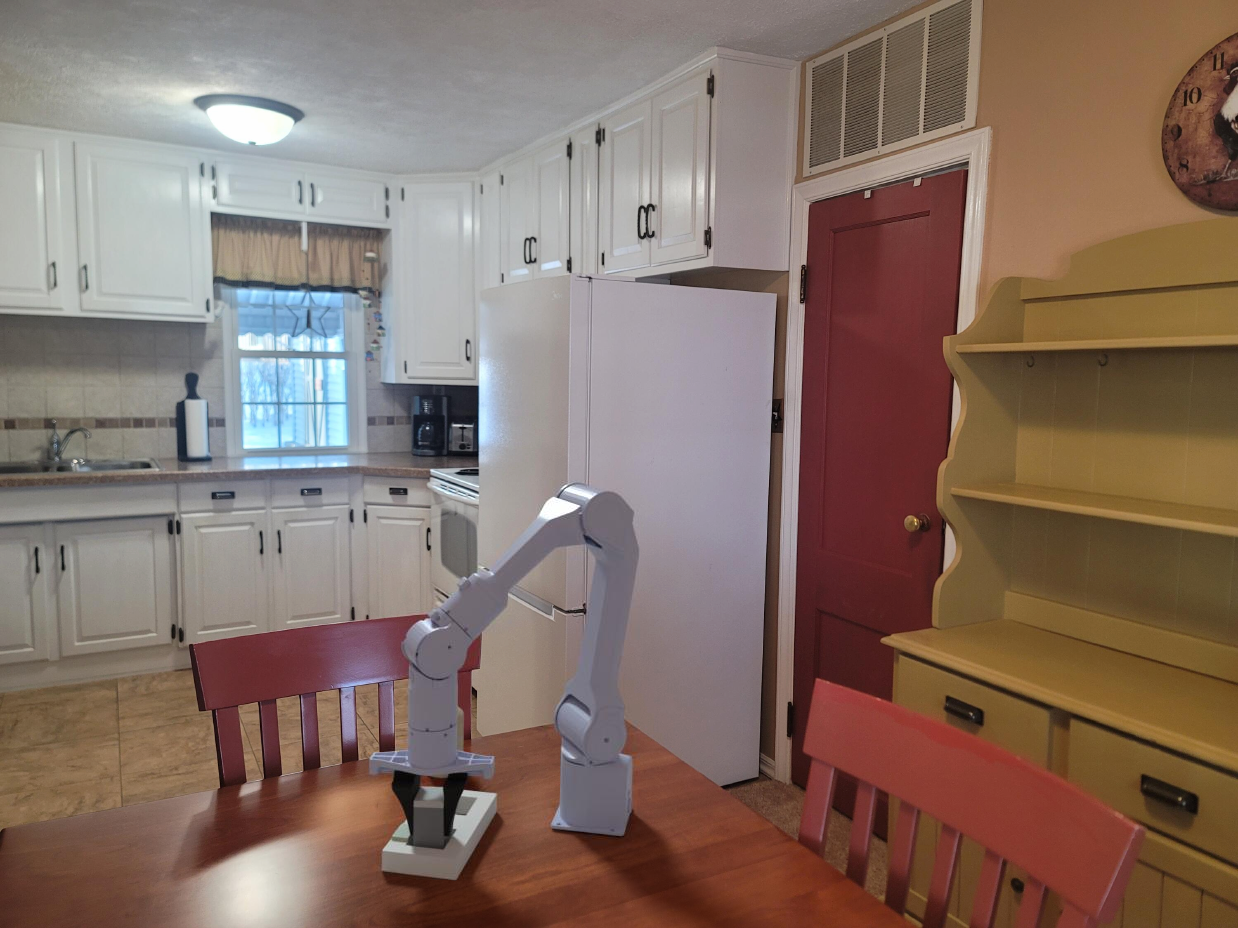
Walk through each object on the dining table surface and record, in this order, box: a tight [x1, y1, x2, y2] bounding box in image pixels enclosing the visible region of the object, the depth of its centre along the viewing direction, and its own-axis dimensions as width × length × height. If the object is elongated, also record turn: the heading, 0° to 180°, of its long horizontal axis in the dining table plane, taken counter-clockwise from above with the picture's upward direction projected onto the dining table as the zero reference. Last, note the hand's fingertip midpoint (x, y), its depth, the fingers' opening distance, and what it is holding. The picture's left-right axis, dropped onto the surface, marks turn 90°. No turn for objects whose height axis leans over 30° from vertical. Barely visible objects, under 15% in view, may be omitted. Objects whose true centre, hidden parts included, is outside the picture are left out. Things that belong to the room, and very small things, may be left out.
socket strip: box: [381, 789, 498, 881], centre depth 108 cm, size 9×16×3 cm, turn 171°
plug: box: [413, 785, 449, 850], centre depth 104 cm, size 4×4×7 cm
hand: (431, 831), depth 104 cm, fingers closed on plug, 3 cm apart
